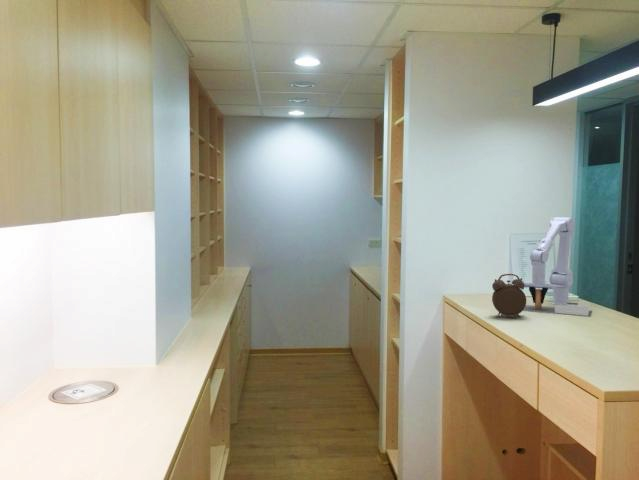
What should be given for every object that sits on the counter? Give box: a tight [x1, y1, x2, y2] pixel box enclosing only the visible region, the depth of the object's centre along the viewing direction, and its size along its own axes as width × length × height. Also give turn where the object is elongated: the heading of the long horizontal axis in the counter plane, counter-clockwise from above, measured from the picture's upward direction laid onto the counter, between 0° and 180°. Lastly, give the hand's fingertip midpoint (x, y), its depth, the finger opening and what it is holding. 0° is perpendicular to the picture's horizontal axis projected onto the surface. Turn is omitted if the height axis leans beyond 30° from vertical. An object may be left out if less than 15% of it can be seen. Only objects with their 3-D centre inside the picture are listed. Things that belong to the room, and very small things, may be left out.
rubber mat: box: [522, 304, 593, 318], centre depth 252 cm, size 14×30×1 cm, turn 60°
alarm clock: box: [491, 273, 527, 318], centre depth 242 cm, size 15×7×20 cm, turn 84°
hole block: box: [554, 300, 591, 317], centre depth 248 cm, size 12×14×4 cm
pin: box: [534, 288, 543, 310], centre depth 256 cm, size 3×3×10 cm
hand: (538, 302), depth 256 cm, fingers closed on pin, 3 cm apart
